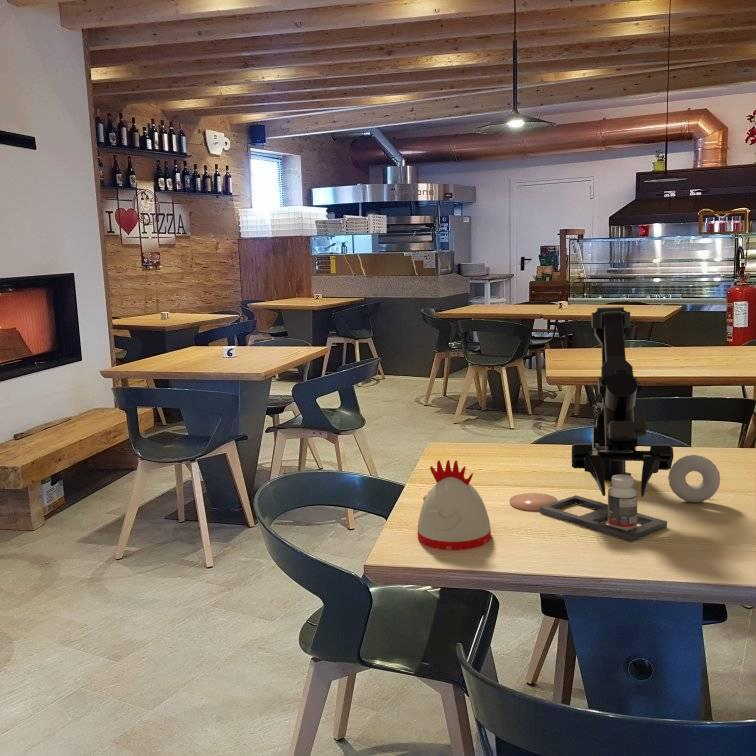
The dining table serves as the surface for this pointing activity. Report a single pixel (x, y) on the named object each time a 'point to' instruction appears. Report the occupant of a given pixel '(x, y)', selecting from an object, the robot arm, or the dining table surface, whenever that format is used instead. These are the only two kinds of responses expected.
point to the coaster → (531, 501)
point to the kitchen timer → (453, 512)
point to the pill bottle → (622, 503)
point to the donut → (699, 465)
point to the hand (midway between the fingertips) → (623, 495)
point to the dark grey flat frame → (602, 519)
